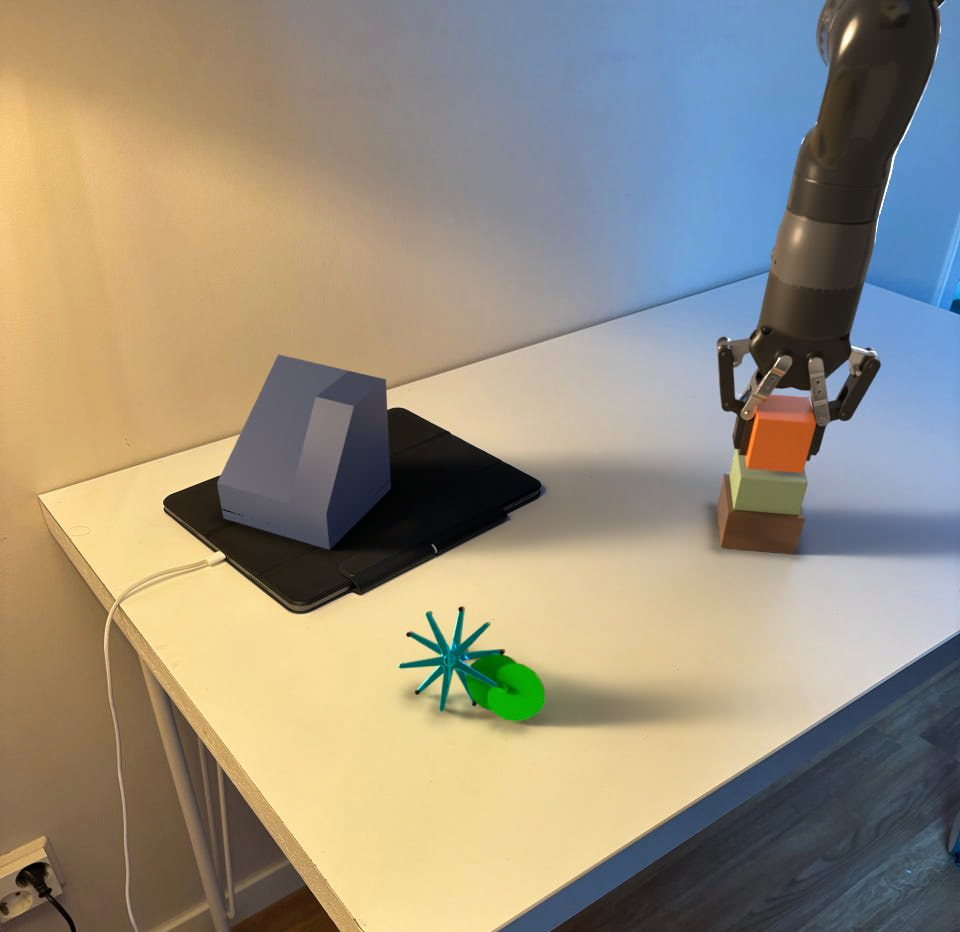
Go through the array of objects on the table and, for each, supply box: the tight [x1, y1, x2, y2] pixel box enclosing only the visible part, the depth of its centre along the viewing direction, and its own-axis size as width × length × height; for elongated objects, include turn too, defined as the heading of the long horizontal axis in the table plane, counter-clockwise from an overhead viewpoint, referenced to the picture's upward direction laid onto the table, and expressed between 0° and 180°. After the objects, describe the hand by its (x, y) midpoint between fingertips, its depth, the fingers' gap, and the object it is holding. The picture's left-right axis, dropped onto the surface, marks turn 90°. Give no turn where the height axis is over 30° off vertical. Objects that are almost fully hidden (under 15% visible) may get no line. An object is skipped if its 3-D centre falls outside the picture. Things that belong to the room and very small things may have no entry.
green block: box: [729, 449, 809, 515], centre depth 92 cm, size 6×6×4 cm
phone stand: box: [216, 354, 392, 551], centre depth 94 cm, size 12×12×12 cm
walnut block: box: [716, 473, 806, 555], centre depth 95 cm, size 7×7×4 cm
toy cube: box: [745, 393, 816, 473], centre depth 89 cm, size 5×5×5 cm
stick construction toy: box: [398, 605, 546, 722], centre depth 78 cm, size 12×7×8 cm
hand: (773, 453), depth 91 cm, fingers closed on toy cube, 5 cm apart
